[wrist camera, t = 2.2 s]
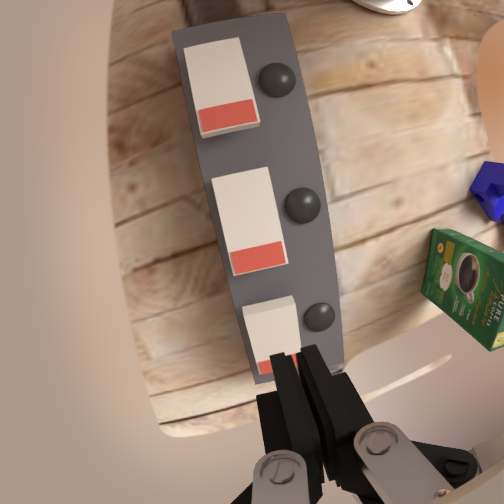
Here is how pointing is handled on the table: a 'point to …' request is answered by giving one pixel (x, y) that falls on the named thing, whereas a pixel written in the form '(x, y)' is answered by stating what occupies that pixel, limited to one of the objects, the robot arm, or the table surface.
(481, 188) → the blue piece
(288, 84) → the rocker switch panel
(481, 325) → the coffee box
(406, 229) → the table surface
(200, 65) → the rocker
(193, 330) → the table surface
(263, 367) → the rocker
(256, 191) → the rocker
